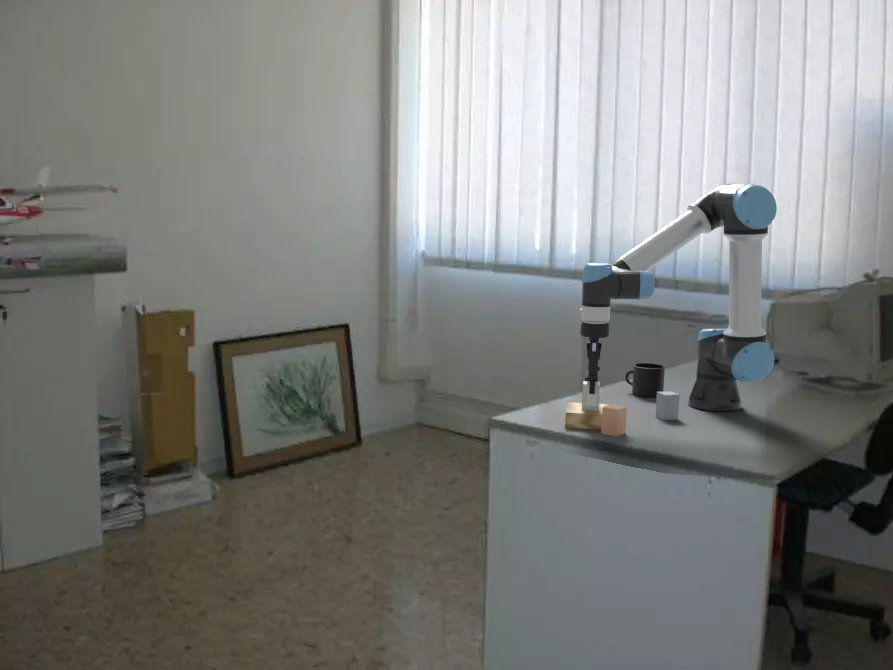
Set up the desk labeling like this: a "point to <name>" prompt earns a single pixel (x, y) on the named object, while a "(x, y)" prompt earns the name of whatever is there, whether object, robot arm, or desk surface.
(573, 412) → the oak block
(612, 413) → the terracotta brick
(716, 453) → the desk surface
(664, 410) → the slate brick
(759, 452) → the desk surface
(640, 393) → the mug
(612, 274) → the robot arm
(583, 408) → the sage brick
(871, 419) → the desk surface
